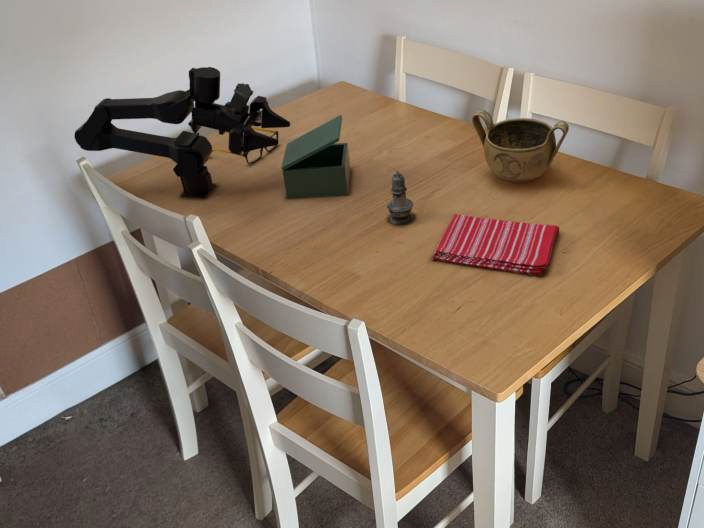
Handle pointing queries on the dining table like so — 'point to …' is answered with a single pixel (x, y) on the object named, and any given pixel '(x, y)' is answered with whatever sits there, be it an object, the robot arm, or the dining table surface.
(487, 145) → the ceramic bowl
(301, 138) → the lid
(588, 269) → the dining table surface
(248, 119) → the robot arm
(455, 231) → the dish towel
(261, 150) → the eyeglasses
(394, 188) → the dark grey tall piece
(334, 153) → the tin
